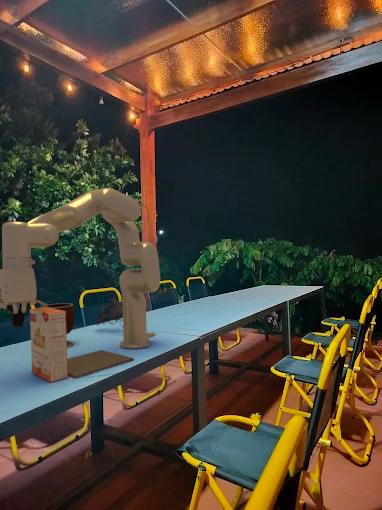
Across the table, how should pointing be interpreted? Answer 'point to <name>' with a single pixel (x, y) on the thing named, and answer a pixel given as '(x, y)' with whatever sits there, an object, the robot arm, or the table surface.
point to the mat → (94, 363)
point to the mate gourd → (69, 315)
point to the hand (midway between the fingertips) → (18, 326)
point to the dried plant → (117, 311)
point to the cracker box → (49, 343)
